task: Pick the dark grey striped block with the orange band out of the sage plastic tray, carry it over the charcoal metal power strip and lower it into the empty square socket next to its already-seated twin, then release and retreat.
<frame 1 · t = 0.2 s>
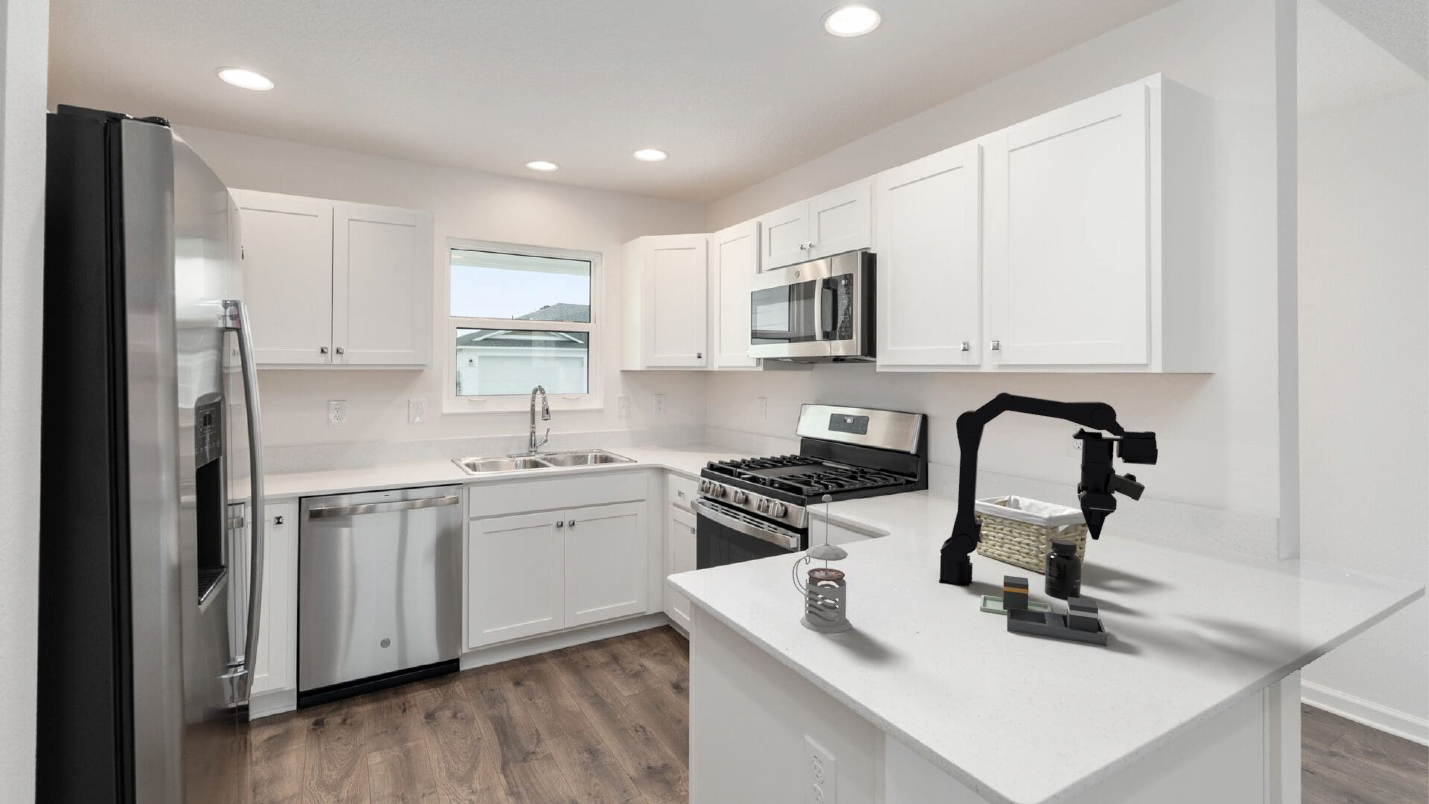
hand: (1093, 534, 138), 14 cm above the counter, fingers open, 9 cm apart
french press: (821, 622, 127), on the counter
tray: (1015, 611, 133), on the counter
dark grey striped block: (1015, 608, 133), resting on tray
supplement bottle: (1062, 597, 142), on the counter
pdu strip: (1053, 632, 122), on the counter
storage basket: (1027, 561, 169), on the counter
twin plug: (1081, 634, 120), resting on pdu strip
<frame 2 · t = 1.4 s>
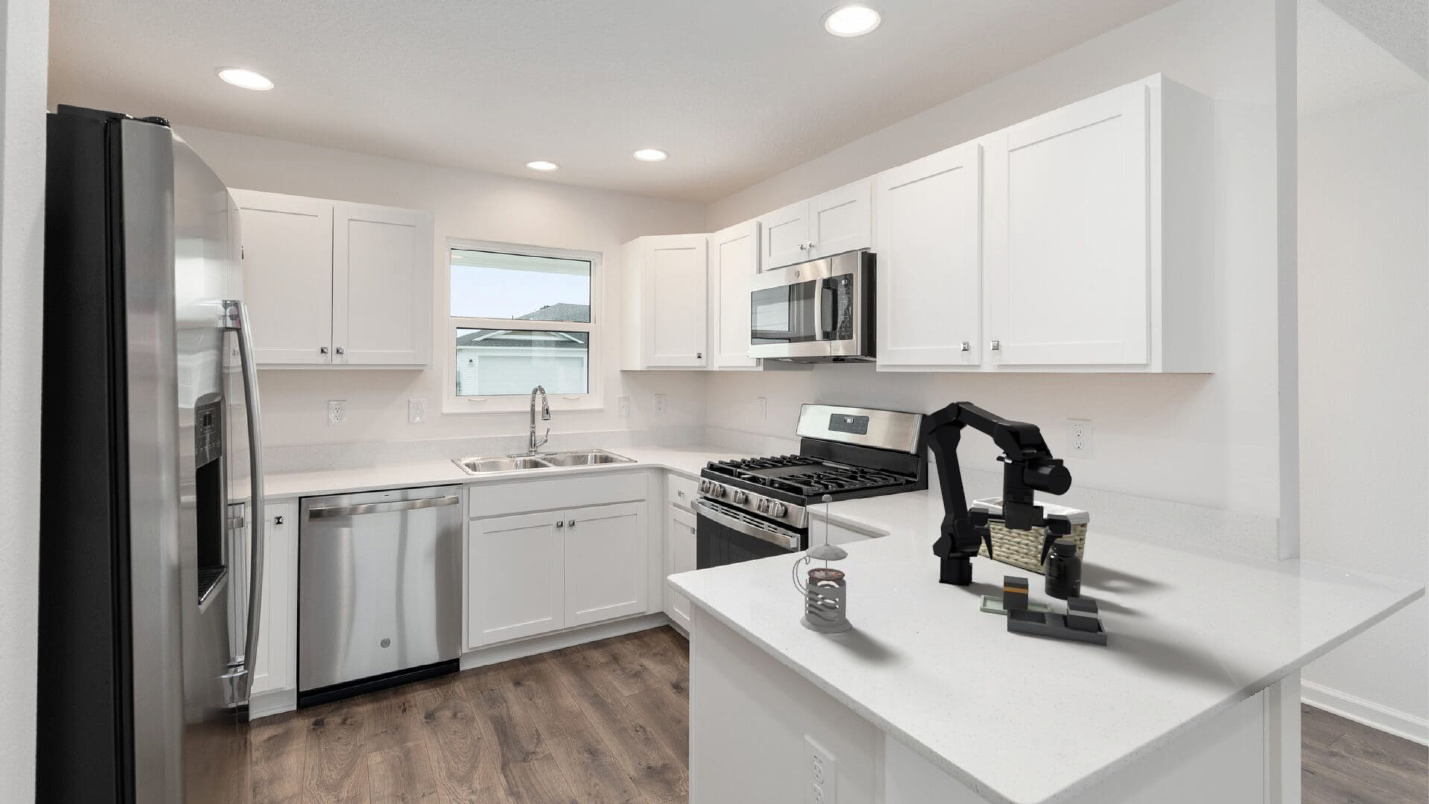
hand: (1016, 562, 133), 10 cm above the counter, fingers open, 9 cm apart
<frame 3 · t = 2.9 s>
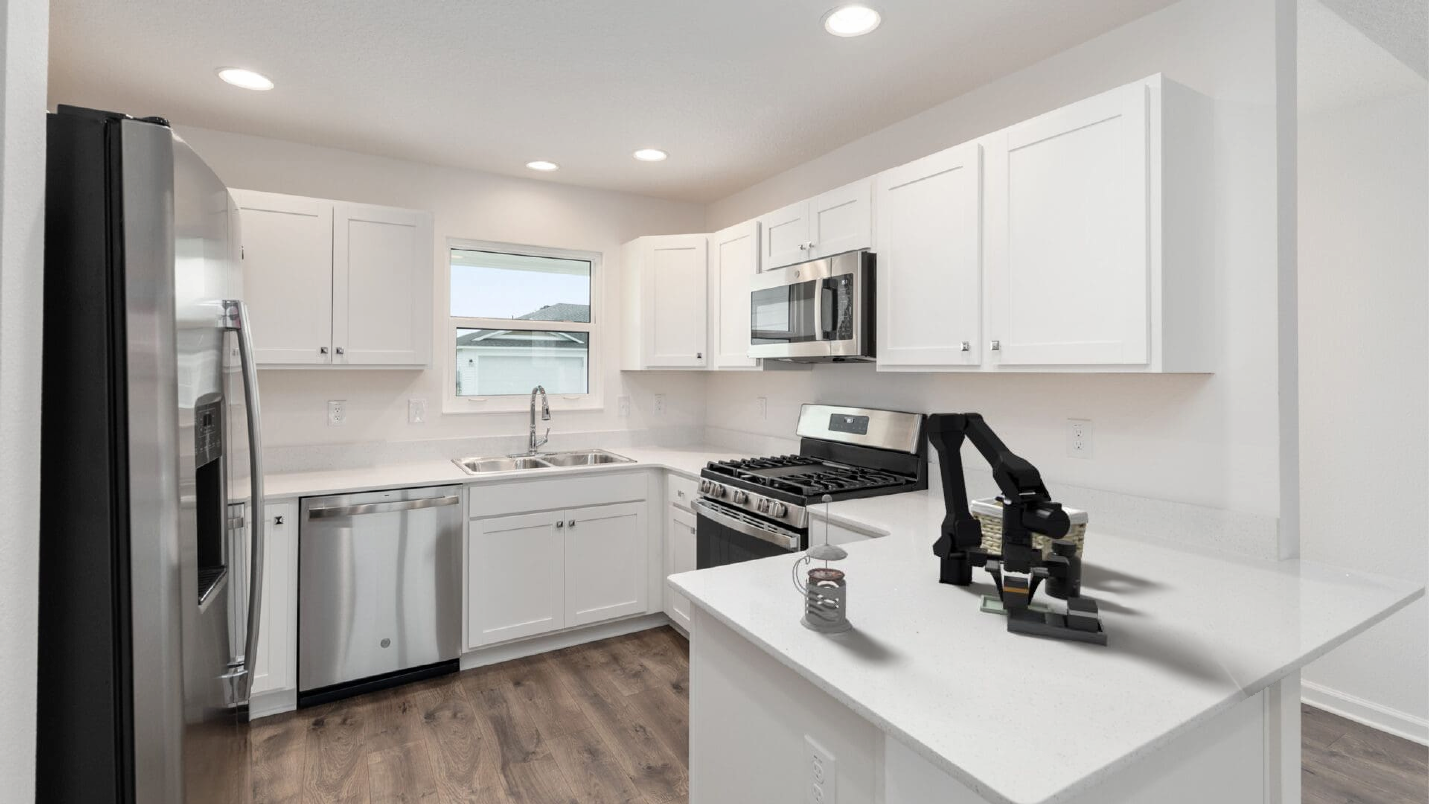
hand: (1015, 603, 133), 2 cm above the counter, fingers closed on dark grey striped block, 4 cm apart
dark grey striped block: (1015, 608, 133), resting on tray, touching gripper
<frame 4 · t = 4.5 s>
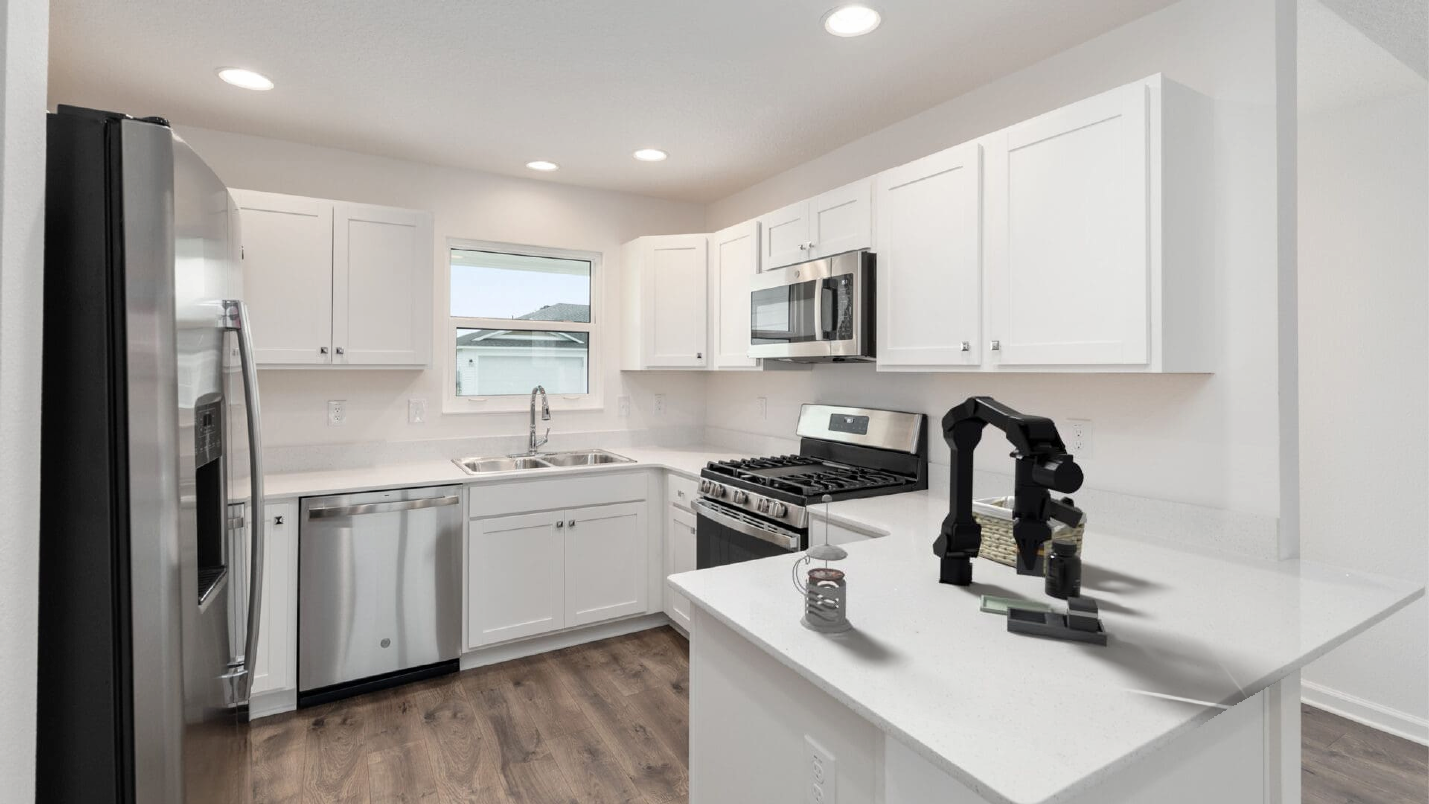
hand: (1029, 566, 124), 12 cm above the counter, fingers closed on dark grey striped block, 4 cm apart
dark grey striped block: (1029, 572, 124), point 11 cm above the counter, touching gripper
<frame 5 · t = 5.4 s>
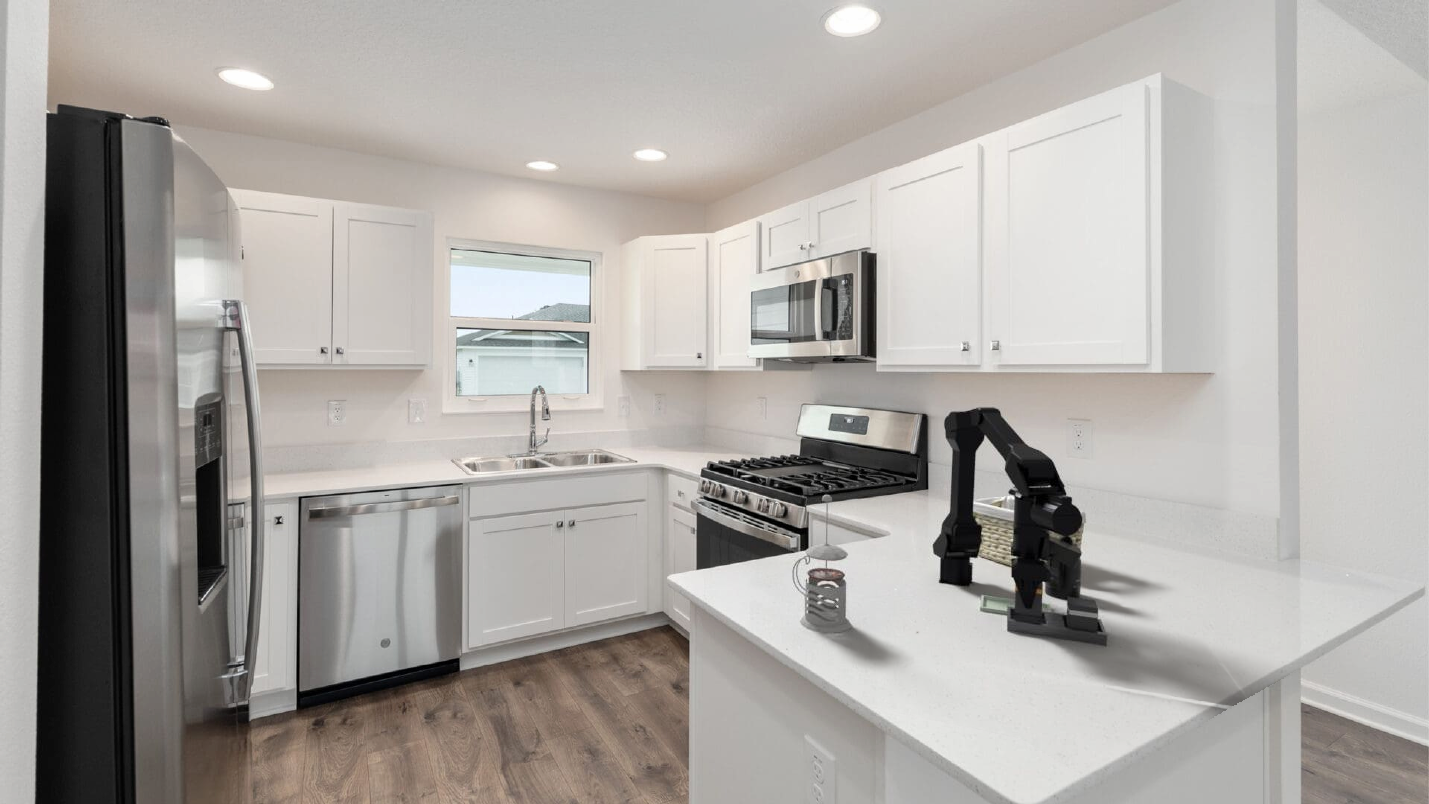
hand: (1027, 604, 124), 5 cm above the counter, fingers closed on dark grey striped block, 4 cm apart
dark grey striped block: (1027, 610, 124), point 4 cm above the counter, touching gripper
when the fingers open (3 cm above the counter, at t = 6.1 s): dark grey striped block drops 1 cm, resting on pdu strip.
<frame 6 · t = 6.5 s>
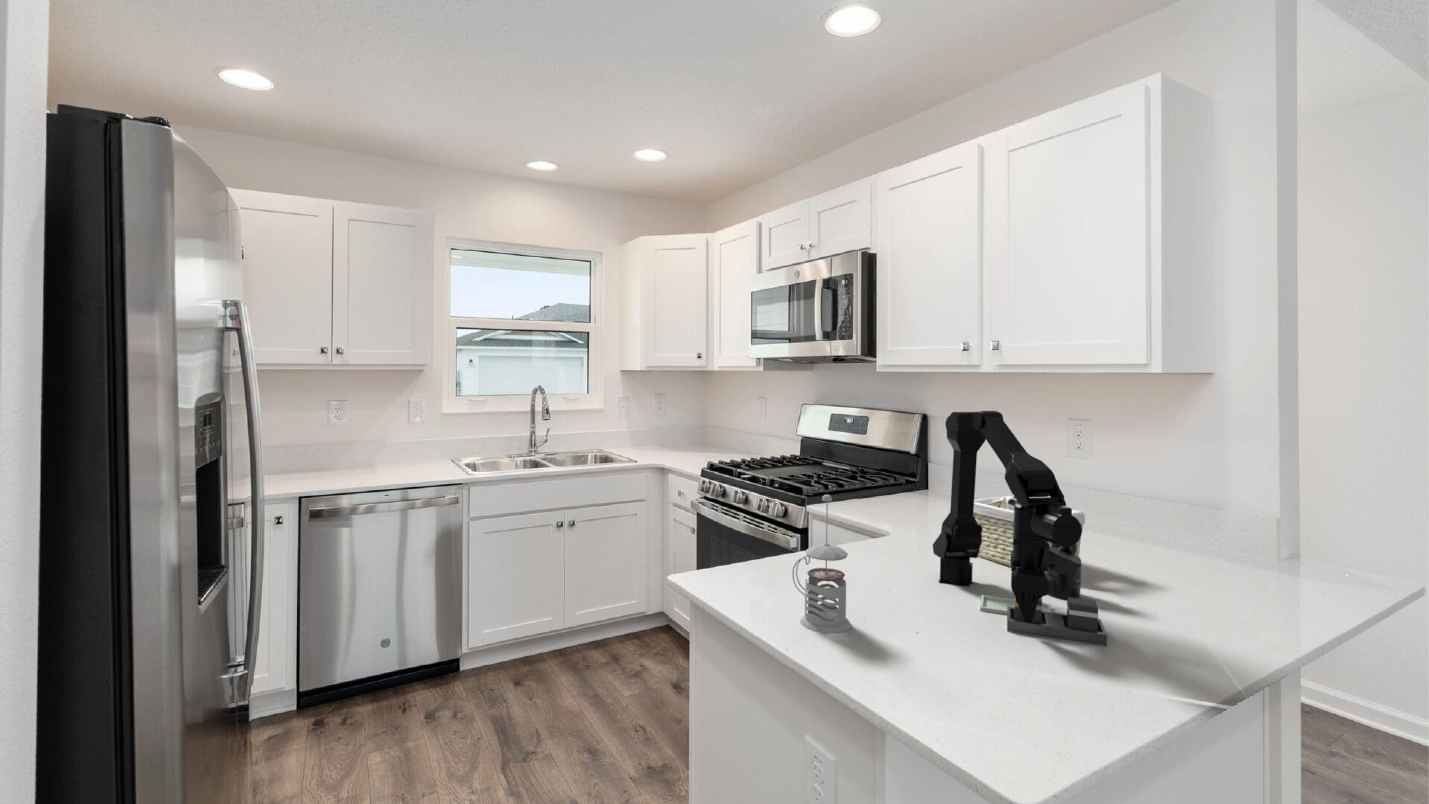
hand: (1027, 614, 124), 3 cm above the counter, fingers open, 9 cm apart
dark grey striped block: (1027, 626, 124), resting on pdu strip
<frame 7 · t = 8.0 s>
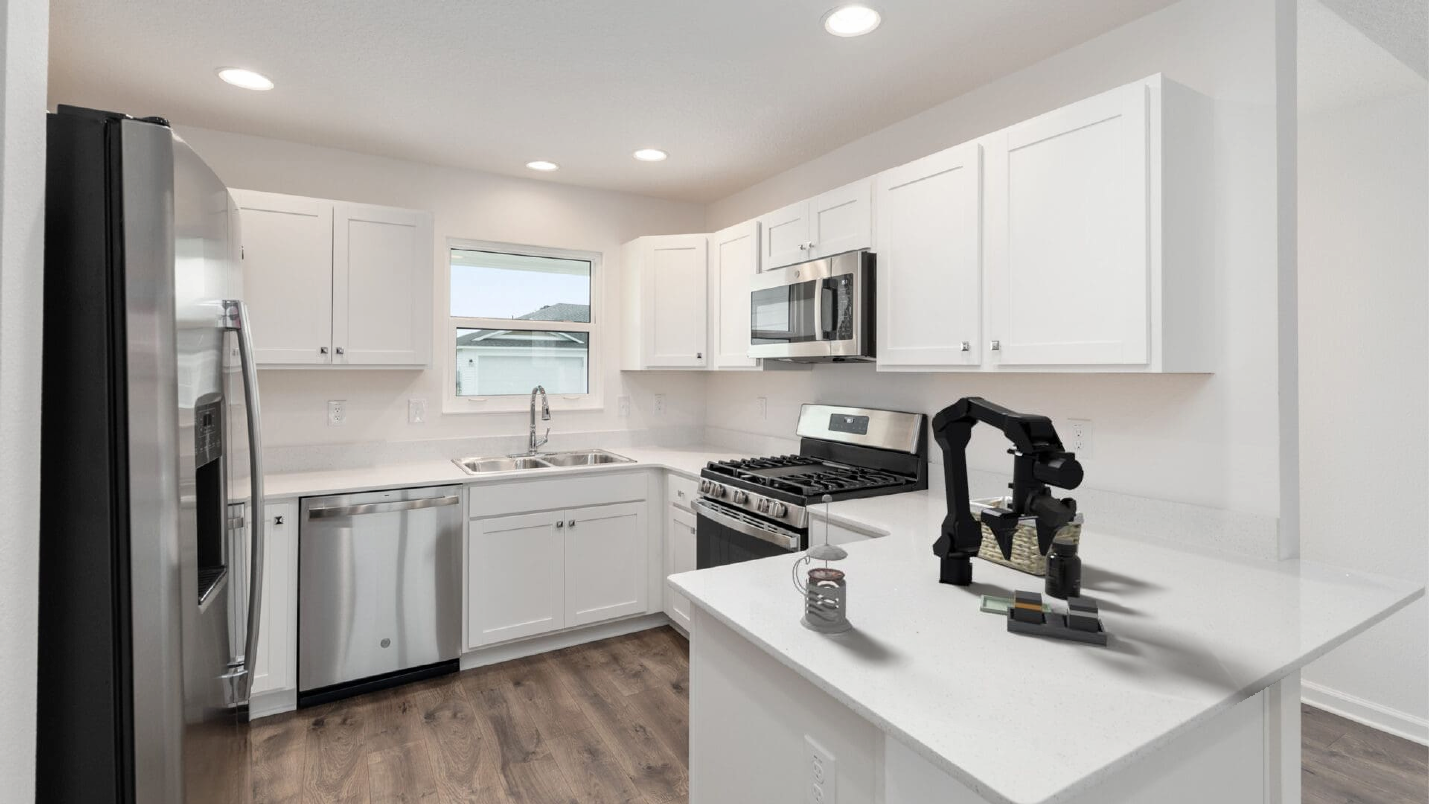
hand: (1025, 558, 129), 12 cm above the counter, fingers open, 9 cm apart
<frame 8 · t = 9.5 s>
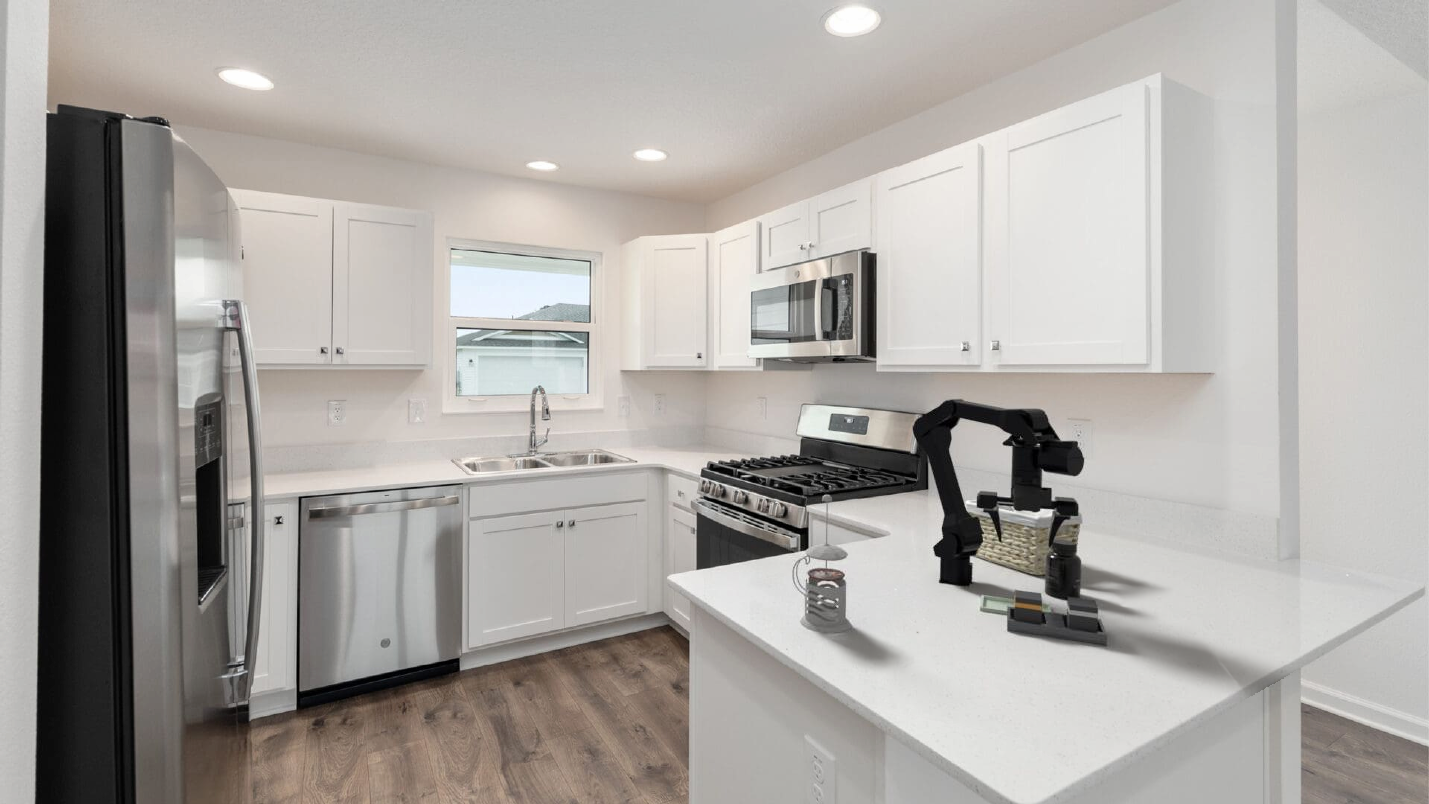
hand: (1024, 544, 135), 13 cm above the counter, fingers open, 9 cm apart
at the end: dark grey striped block 0.0 cm from the target spot on the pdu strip, point 0.5 cm above the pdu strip's base; dark grey striped block tilted 0°; twin plug moved 0.0 cm from its start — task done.
